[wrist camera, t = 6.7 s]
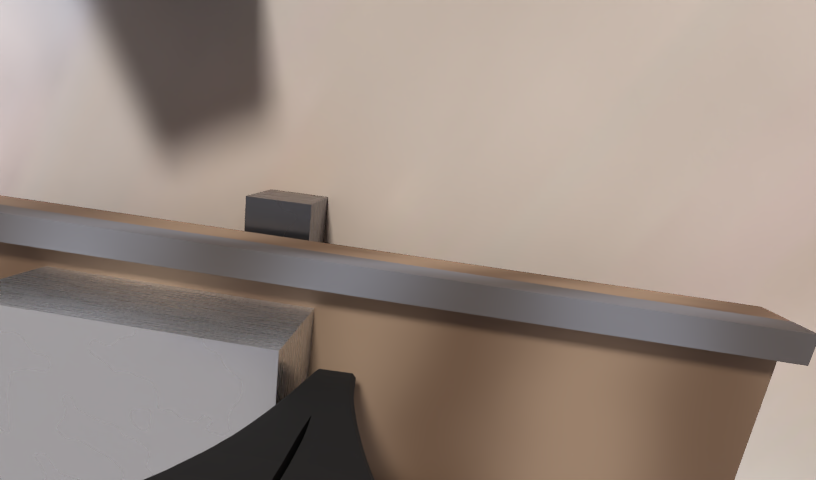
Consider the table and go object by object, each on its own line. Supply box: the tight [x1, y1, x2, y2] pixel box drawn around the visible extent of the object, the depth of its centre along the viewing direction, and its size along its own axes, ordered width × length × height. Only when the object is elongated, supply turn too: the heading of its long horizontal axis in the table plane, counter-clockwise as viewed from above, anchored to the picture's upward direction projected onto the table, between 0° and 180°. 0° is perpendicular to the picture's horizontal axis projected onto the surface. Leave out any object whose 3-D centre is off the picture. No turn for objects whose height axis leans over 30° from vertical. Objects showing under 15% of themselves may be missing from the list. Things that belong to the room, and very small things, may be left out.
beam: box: [0, 195, 816, 480], centre depth 12 cm, size 28×8×2 cm, turn 83°
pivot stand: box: [245, 190, 327, 243], centre depth 14 cm, size 2×10×2 cm, turn 173°
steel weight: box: [0, 266, 314, 480], centre depth 11 cm, size 8×5×2 cm, turn 83°
